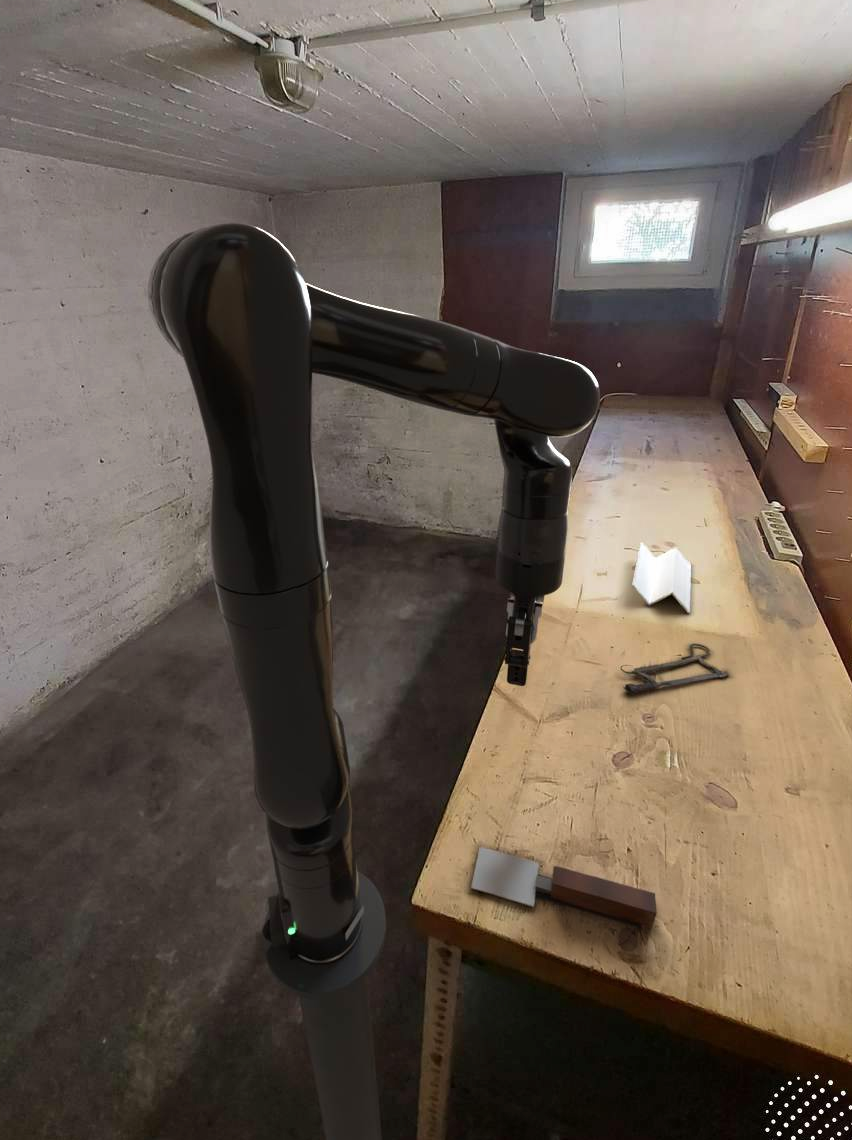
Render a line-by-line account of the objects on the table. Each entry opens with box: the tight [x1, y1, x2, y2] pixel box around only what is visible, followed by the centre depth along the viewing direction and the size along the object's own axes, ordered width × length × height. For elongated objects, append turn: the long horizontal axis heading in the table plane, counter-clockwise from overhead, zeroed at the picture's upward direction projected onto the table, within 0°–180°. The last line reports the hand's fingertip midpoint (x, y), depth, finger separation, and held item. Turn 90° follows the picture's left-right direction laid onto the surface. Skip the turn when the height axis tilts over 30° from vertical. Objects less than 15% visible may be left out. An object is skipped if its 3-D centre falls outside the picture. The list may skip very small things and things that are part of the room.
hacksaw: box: [619, 643, 731, 695], centre depth 110 cm, size 24×10×2 cm, turn 103°
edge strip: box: [535, 873, 643, 929], centre depth 72 cm, size 18×3×1 cm, turn 72°
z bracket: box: [631, 541, 692, 614], centre depth 139 cm, size 12×25×6 cm
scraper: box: [470, 846, 657, 929], centre depth 71 cm, size 22×6×3 cm, turn 72°
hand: (520, 661), depth 70 cm, fingers open, 8 cm apart
